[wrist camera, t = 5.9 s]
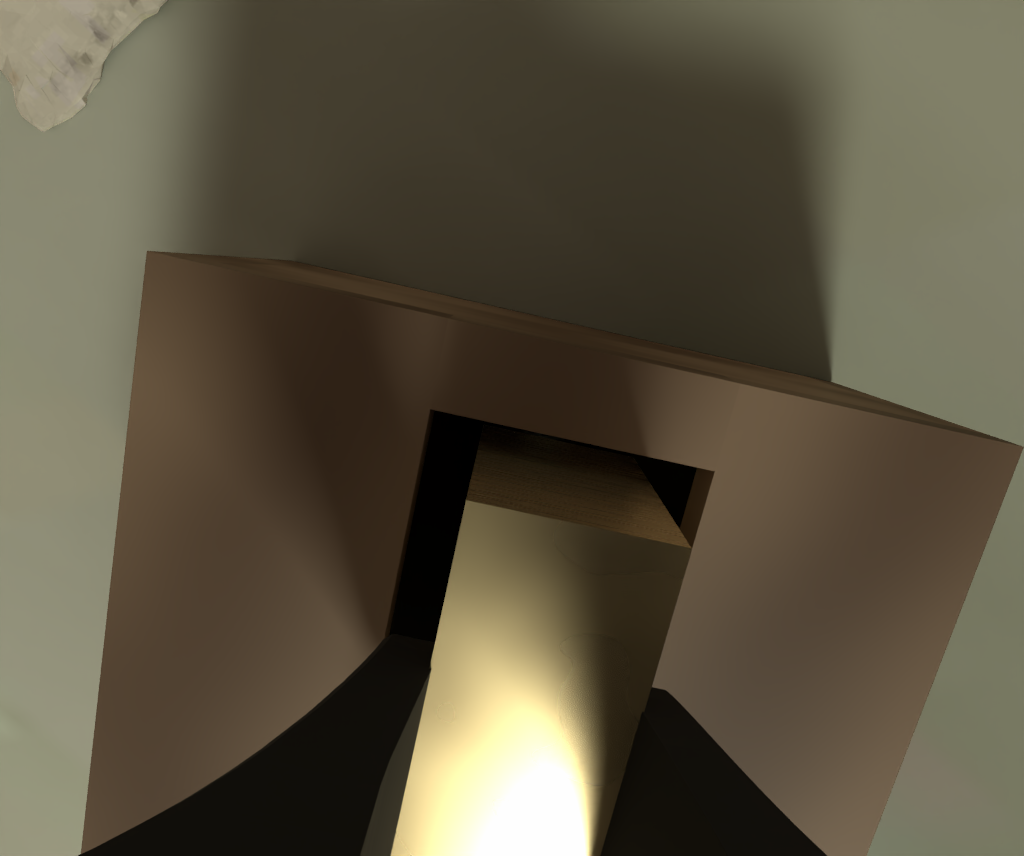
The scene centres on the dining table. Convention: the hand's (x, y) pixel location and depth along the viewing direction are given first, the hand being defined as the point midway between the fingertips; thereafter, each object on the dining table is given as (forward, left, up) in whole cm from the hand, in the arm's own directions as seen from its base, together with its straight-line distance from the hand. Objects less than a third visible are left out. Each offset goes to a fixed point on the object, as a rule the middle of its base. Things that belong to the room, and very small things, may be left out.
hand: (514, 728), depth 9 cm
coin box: (0, 0, -7) cm, 7 cm away
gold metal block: (0, 0, -3) cm, 3 cm away
